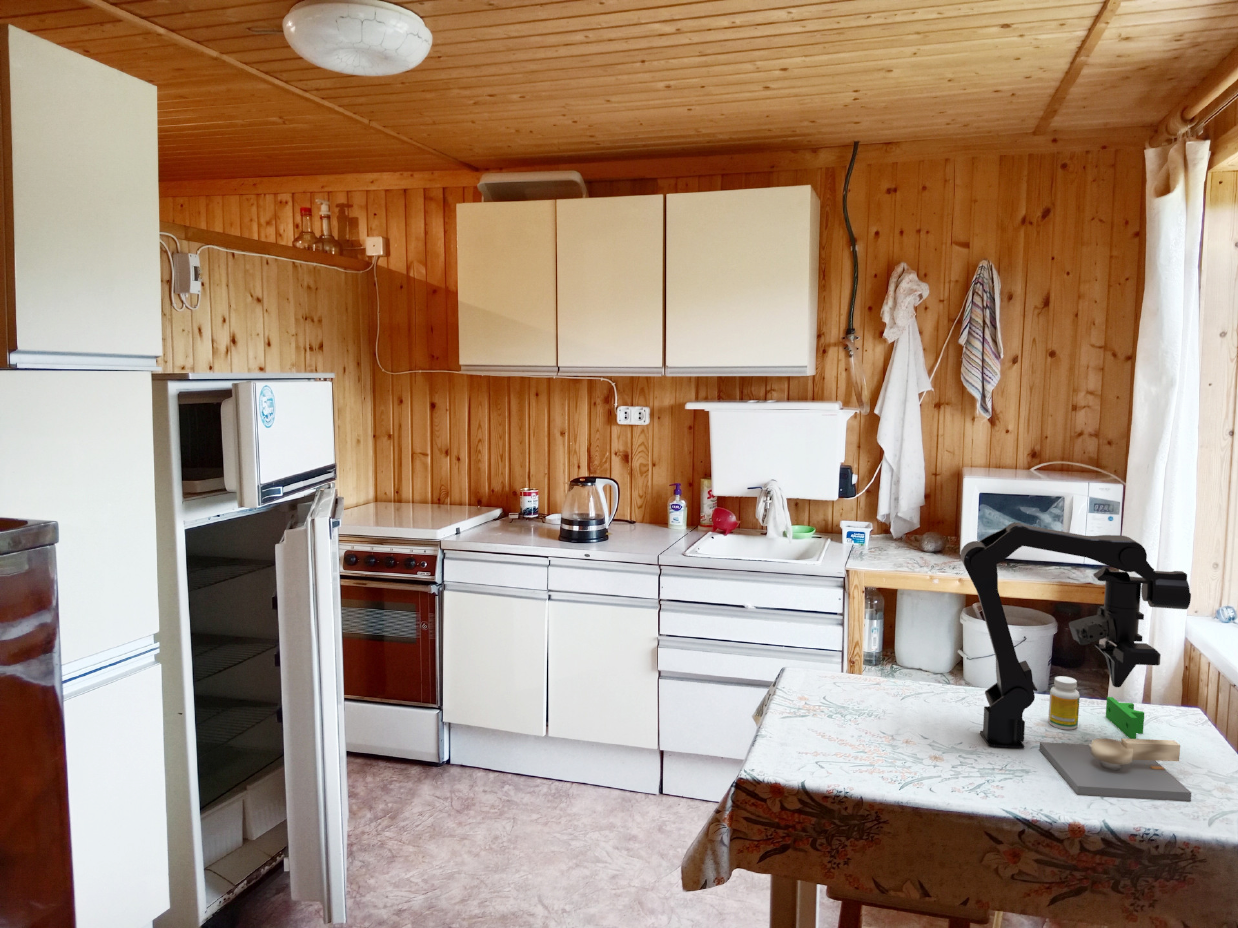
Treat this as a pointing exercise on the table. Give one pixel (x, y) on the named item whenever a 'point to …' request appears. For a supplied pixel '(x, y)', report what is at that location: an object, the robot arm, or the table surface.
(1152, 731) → the table surface
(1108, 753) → the beige long-handled part
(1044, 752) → the thin gray panel
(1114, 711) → the pipe clamp
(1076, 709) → the supplement bottle
